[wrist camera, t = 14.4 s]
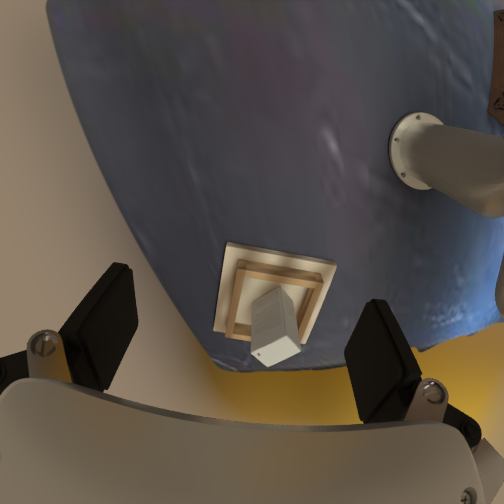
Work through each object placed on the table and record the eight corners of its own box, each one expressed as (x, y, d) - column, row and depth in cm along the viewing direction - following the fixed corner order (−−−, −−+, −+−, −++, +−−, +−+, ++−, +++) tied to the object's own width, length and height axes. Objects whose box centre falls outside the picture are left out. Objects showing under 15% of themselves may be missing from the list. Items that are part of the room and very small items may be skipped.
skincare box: (265, 317, 49) (266, 368, 39) (251, 301, 48) (248, 353, 37) (294, 300, 47) (302, 352, 37) (280, 284, 46) (286, 335, 35)
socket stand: (334, 261, 45) (341, 275, 41) (304, 338, 54) (307, 354, 50) (227, 241, 44) (223, 255, 40) (214, 325, 53) (211, 341, 49)
